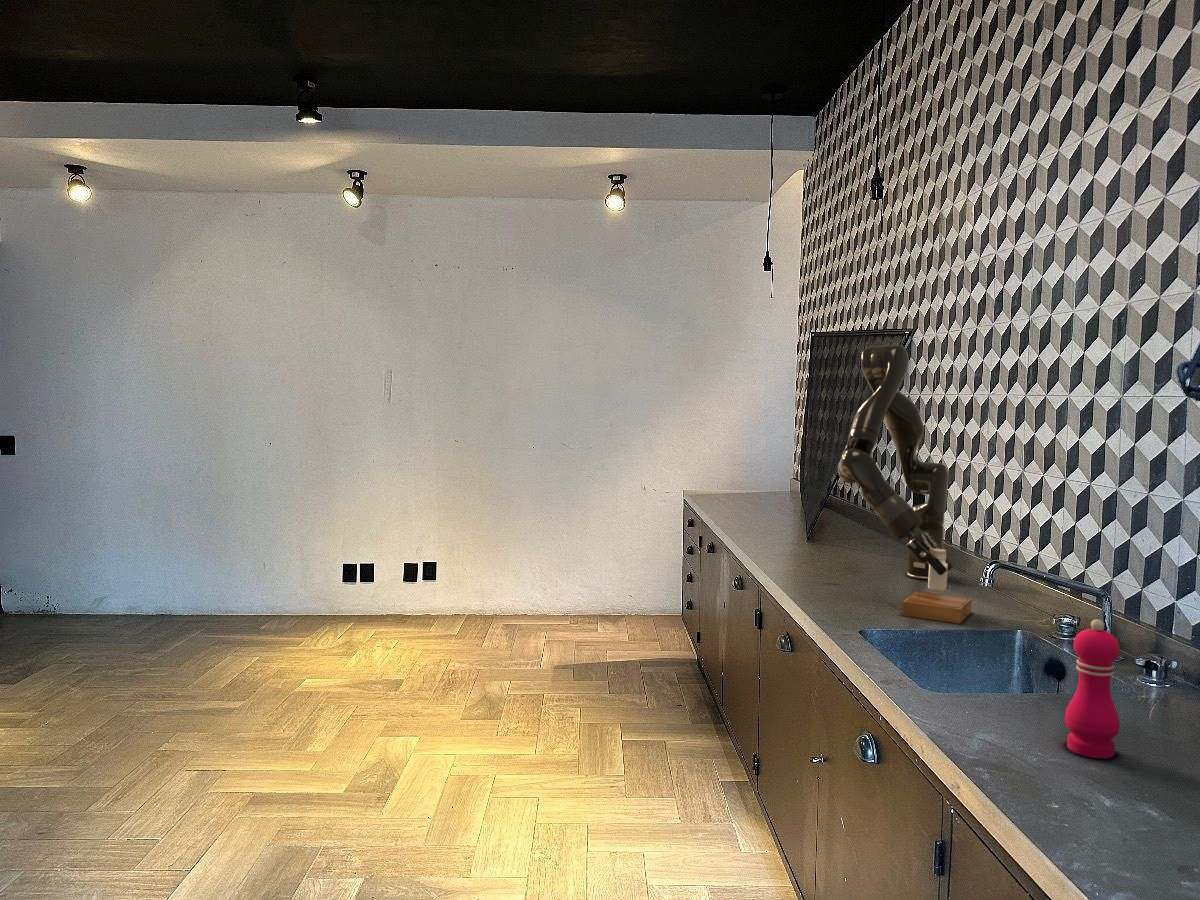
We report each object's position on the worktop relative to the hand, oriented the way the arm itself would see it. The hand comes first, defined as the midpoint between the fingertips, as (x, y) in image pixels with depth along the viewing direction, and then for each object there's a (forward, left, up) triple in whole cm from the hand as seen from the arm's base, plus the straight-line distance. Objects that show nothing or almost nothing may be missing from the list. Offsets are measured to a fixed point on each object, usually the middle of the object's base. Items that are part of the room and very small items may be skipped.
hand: (946, 571), depth 217 cm
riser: (0, -2, -11) cm, 11 cm away
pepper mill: (+64, +51, -11) cm, 83 cm away
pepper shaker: (0, -2, -5) cm, 5 cm away
